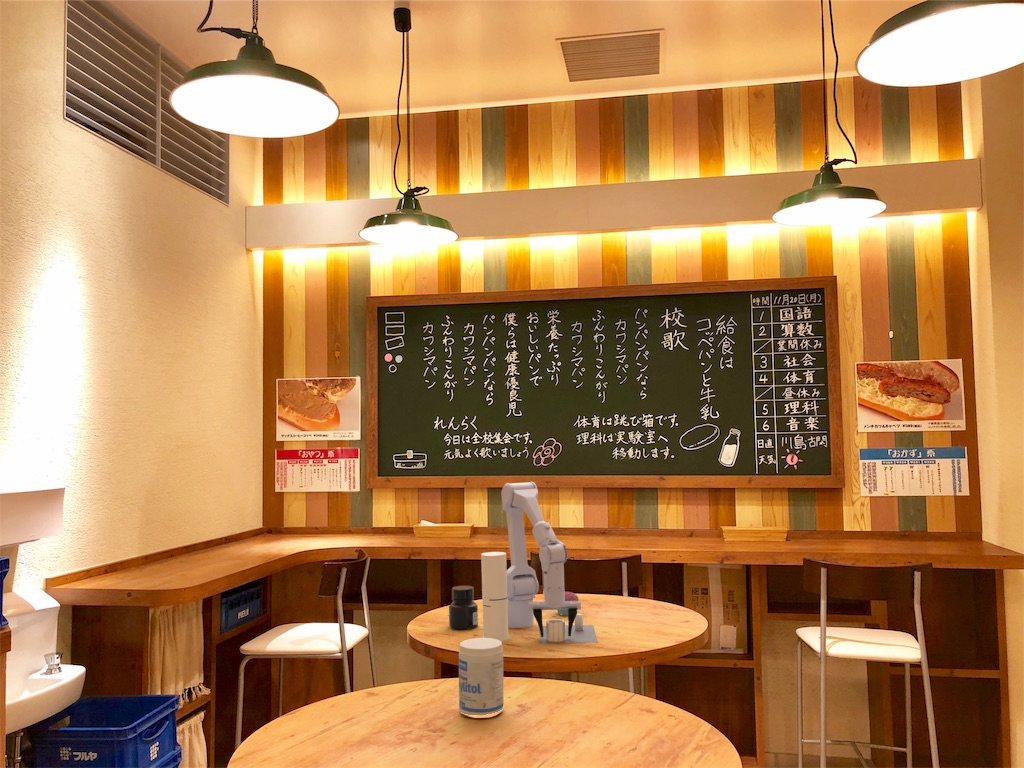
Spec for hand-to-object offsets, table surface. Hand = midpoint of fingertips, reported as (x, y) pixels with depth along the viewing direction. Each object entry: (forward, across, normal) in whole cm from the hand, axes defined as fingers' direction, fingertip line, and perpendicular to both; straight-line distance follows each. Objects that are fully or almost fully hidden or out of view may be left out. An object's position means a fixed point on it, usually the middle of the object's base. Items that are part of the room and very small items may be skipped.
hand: (555, 635), depth 227 cm
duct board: (+2, +4, +6) cm, 7 cm away
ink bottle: (+2, -28, +21) cm, 35 cm away
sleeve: (+1, 0, 0) cm, 1 cm away
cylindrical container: (+2, -17, +2) cm, 17 cm away
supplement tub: (+2, -17, -55) cm, 58 cm away
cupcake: (+2, +4, +36) cm, 36 cm away
